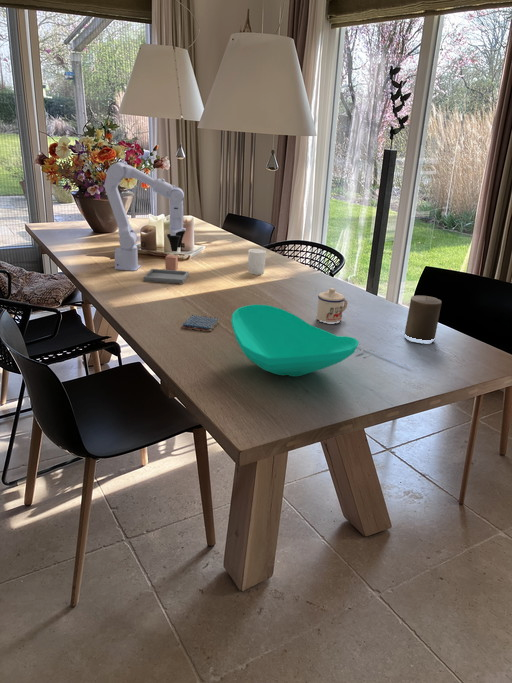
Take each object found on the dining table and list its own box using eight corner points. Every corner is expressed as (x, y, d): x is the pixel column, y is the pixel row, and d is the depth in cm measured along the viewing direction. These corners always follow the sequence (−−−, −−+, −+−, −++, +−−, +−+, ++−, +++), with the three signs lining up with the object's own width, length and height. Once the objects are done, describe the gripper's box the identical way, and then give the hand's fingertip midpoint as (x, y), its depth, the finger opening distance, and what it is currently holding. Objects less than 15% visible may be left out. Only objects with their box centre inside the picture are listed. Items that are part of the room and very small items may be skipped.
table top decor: (205, 357, 159) (206, 314, 154) (275, 337, 177) (278, 297, 172) (306, 413, 133) (311, 363, 128) (376, 383, 150) (383, 338, 145)
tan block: (165, 270, 243) (165, 257, 241) (167, 268, 247) (167, 254, 245) (175, 271, 243) (175, 258, 241) (177, 268, 247) (177, 255, 245)
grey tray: (143, 281, 226) (143, 276, 226) (151, 272, 238) (151, 268, 238) (182, 284, 226) (182, 279, 225) (188, 275, 238) (188, 271, 237)
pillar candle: (429, 347, 177) (438, 302, 171) (399, 339, 181) (407, 295, 176) (437, 338, 184) (446, 295, 179) (409, 331, 189) (416, 289, 183)
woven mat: (220, 323, 188) (220, 317, 187) (211, 334, 178) (211, 328, 177) (190, 319, 190) (190, 313, 189) (180, 330, 180) (180, 324, 179)
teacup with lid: (326, 326, 189) (330, 294, 184) (310, 318, 196) (313, 286, 191) (353, 321, 195) (357, 290, 190) (336, 313, 202) (340, 282, 198)
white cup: (265, 271, 251) (267, 249, 247) (264, 276, 244) (265, 253, 240) (248, 270, 252) (249, 248, 248) (246, 274, 244) (247, 252, 241)
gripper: (182, 221, 229) (181, 253, 234) (189, 215, 242) (188, 246, 247) (165, 219, 229) (165, 252, 234) (173, 214, 242) (172, 245, 247)
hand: (176, 249), depth 241 cm, fingers open, 7 cm apart
